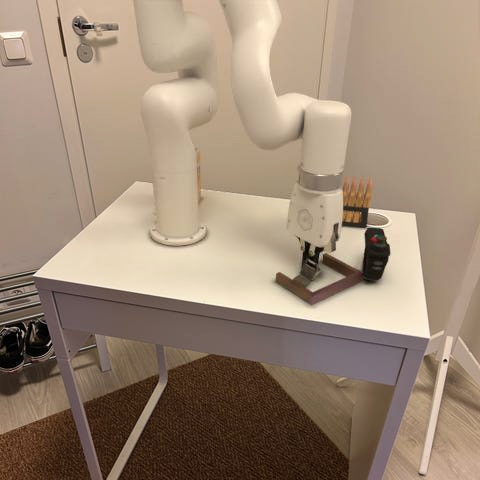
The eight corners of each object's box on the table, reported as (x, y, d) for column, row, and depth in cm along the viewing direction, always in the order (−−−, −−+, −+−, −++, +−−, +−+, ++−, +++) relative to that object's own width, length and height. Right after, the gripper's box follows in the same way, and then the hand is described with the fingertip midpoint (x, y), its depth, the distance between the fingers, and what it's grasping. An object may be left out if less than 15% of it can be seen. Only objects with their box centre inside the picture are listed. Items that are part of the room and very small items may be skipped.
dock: (275, 282, 92) (275, 273, 90) (324, 261, 99) (326, 252, 98) (311, 305, 85) (312, 296, 84) (361, 281, 93) (363, 272, 91)
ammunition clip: (365, 224, 114) (375, 176, 107) (366, 228, 112) (375, 178, 105) (321, 221, 115) (327, 172, 108) (321, 224, 114) (327, 175, 106)
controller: (360, 289, 90) (370, 242, 84) (357, 259, 100) (366, 215, 94) (383, 292, 89) (395, 245, 84) (378, 261, 99) (388, 216, 93)
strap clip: (309, 265, 96) (315, 248, 93) (322, 272, 95) (329, 256, 92) (288, 284, 90) (294, 266, 87) (301, 292, 89) (308, 275, 86)
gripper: (275, 171, 85) (270, 260, 96) (337, 196, 76) (323, 291, 87) (305, 163, 89) (296, 249, 100) (367, 186, 80) (350, 279, 90)
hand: (309, 269), depth 93 cm, fingers closed
